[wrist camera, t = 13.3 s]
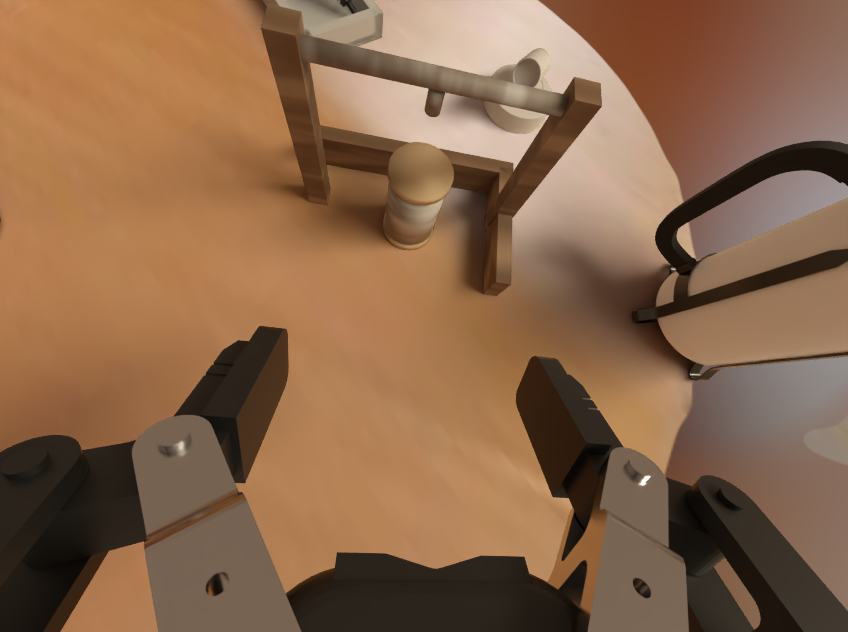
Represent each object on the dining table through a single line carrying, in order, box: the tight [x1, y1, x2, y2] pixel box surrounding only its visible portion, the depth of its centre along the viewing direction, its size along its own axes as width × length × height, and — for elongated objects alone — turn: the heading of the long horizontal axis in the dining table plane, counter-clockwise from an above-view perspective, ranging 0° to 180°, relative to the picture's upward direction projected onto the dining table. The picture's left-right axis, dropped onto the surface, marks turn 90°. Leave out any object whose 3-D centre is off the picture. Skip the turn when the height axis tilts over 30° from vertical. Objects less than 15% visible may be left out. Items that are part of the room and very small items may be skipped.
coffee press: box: [633, 141, 848, 381], centre depth 28 cm, size 17×16×30 cm
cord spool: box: [383, 142, 454, 250], centre depth 35 cm, size 6×6×10 cm
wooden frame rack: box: [261, 4, 602, 296], centre depth 31 cm, size 15×22×18 cm, turn 85°
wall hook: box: [484, 48, 552, 134], centre depth 42 cm, size 9×10×10 cm
